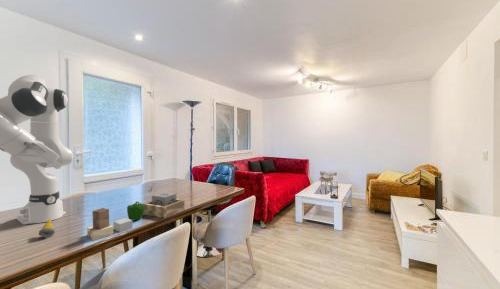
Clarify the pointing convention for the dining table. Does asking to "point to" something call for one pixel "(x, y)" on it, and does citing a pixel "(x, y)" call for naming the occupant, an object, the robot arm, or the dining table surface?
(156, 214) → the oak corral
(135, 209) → the bell pepper
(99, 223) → the walnut block
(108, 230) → the maple block
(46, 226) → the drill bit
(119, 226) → the grey painted block
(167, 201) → the icon cube
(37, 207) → the robot arm
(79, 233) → the dining table surface
